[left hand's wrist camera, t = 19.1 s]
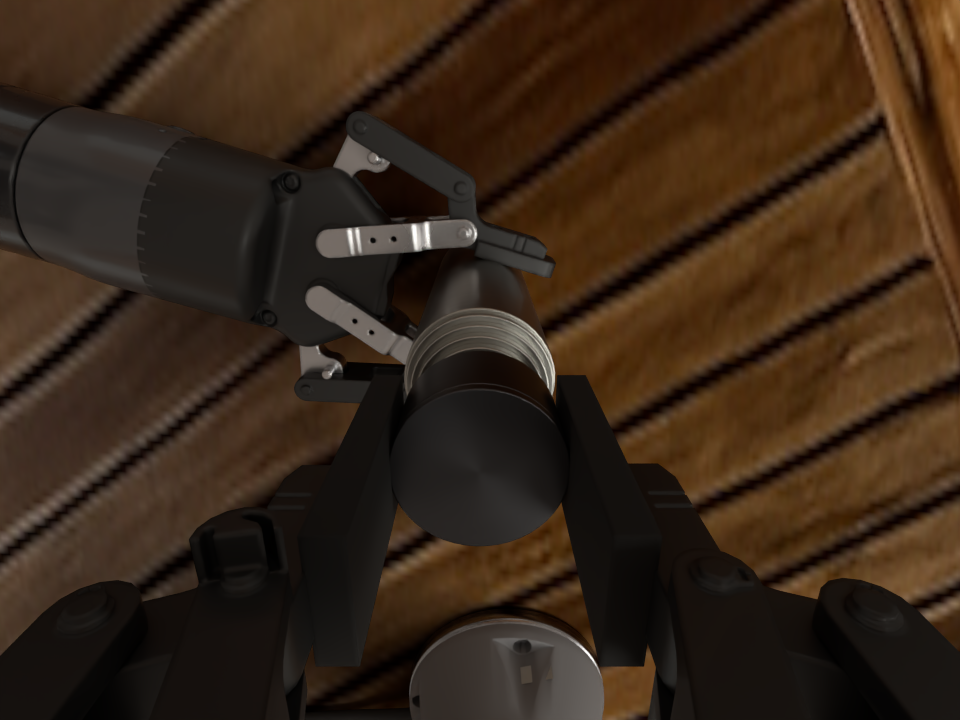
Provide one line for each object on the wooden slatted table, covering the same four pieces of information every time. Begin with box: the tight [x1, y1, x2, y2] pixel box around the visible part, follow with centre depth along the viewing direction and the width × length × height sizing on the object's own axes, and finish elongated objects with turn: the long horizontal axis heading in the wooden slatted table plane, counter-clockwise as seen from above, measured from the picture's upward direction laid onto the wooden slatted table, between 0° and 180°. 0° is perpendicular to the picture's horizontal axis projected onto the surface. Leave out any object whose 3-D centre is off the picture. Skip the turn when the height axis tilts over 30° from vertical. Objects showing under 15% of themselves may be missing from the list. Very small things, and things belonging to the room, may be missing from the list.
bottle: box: [404, 247, 555, 395], centre depth 23 cm, size 5×5×21 cm
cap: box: [390, 351, 570, 546], centre depth 14 cm, size 4×4×2 cm
